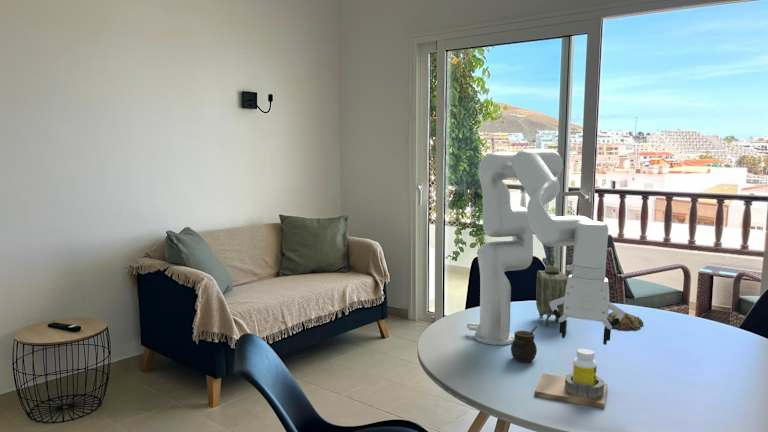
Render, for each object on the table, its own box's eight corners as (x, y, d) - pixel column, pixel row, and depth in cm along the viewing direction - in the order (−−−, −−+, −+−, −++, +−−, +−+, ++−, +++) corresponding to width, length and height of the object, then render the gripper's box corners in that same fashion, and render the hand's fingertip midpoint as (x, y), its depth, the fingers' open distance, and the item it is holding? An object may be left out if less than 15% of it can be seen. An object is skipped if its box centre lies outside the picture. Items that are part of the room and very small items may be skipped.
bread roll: (608, 318, 199) (609, 304, 199) (645, 324, 192) (646, 310, 191) (598, 327, 189) (599, 313, 188) (637, 334, 182) (638, 319, 181)
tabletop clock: (535, 315, 202) (537, 248, 199) (561, 316, 200) (563, 248, 198) (541, 327, 187) (543, 255, 185) (568, 328, 186) (571, 256, 183)
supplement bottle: (597, 395, 133) (599, 356, 132) (573, 393, 134) (575, 354, 133) (593, 385, 138) (595, 348, 137) (570, 384, 139) (572, 346, 138)
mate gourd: (505, 357, 161) (506, 324, 160) (526, 354, 164) (527, 321, 163) (520, 366, 154) (521, 331, 153) (542, 362, 157) (543, 328, 156)
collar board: (534, 395, 135) (534, 381, 135) (542, 377, 146) (542, 364, 146) (604, 408, 128) (604, 393, 128) (607, 388, 139) (607, 374, 139)
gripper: (549, 271, 133) (545, 338, 135) (627, 280, 126) (621, 351, 128) (553, 264, 139) (550, 329, 142) (628, 272, 132) (622, 340, 135)
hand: (584, 339), depth 135 cm, fingers open, 9 cm apart
